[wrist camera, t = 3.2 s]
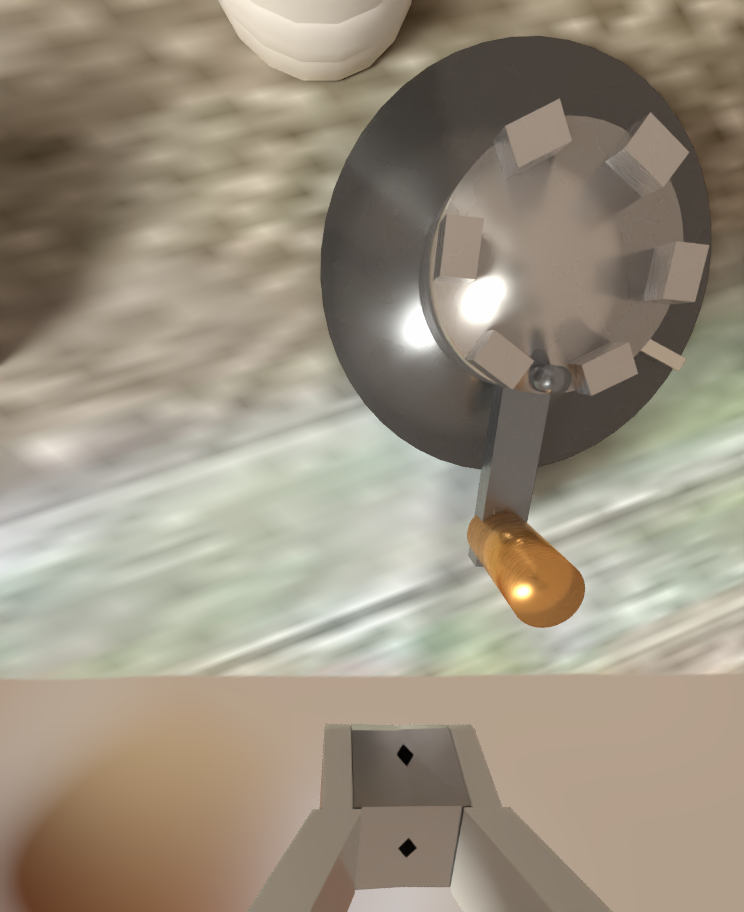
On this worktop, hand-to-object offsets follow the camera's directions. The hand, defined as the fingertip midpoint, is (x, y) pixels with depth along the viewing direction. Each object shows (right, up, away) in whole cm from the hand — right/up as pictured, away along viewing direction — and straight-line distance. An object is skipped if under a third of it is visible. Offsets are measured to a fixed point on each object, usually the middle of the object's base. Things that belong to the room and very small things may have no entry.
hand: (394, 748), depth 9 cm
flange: (+6, +14, +11) cm, 19 cm away
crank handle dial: (+6, +10, +10) cm, 15 cm away
